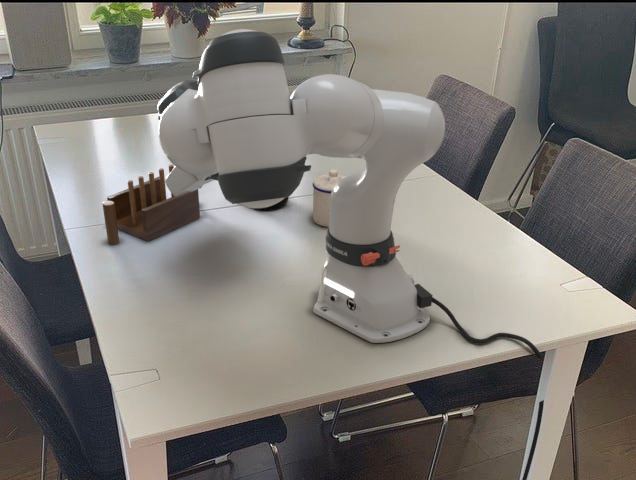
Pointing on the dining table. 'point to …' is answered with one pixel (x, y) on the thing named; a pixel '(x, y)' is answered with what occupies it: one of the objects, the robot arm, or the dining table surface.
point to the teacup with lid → (324, 196)
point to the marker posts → (110, 222)
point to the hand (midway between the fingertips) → (192, 187)
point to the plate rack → (153, 208)
